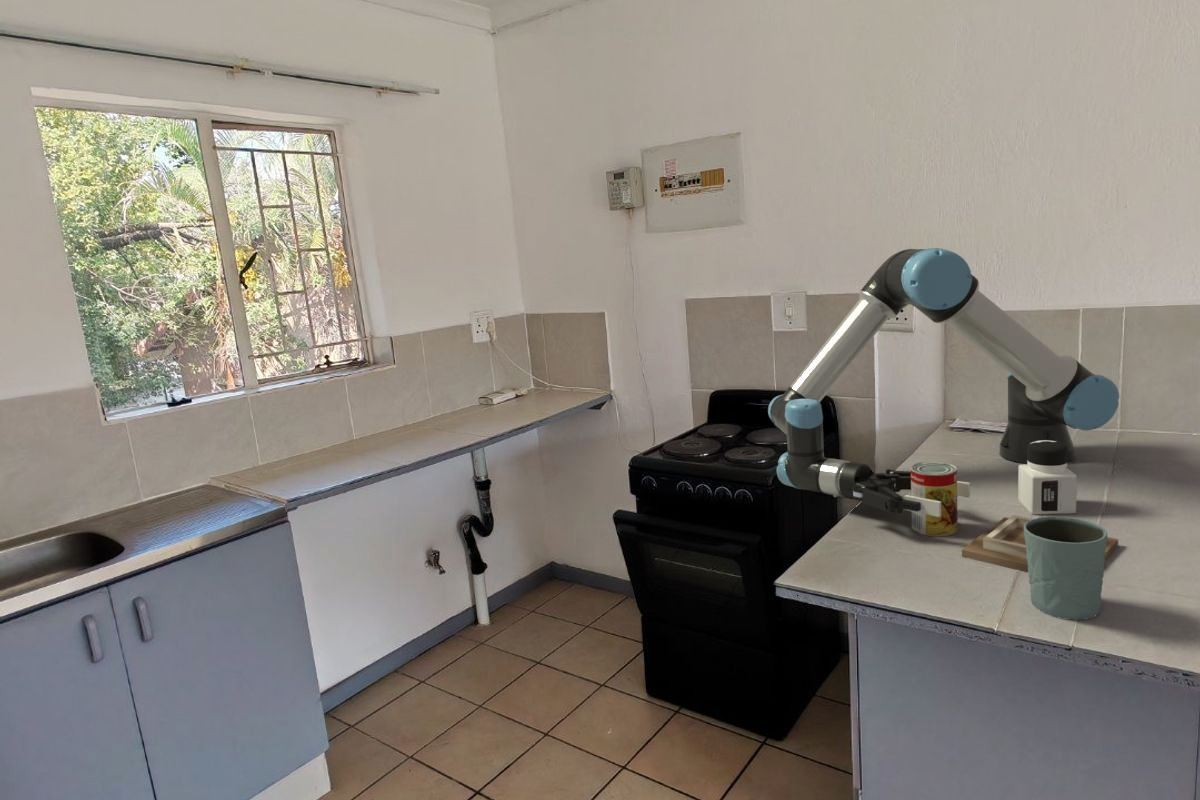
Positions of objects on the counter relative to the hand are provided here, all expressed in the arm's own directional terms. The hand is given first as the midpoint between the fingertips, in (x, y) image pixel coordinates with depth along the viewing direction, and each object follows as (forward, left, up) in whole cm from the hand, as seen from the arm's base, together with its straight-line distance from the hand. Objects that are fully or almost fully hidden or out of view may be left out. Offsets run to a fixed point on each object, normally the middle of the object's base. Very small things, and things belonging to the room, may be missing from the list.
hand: (955, 499), depth 134 cm
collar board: (0, +14, -7) cm, 15 cm away
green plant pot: (+17, +23, -7) cm, 29 cm away
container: (-21, +8, -7) cm, 23 cm away
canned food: (0, -4, -7) cm, 8 cm away
